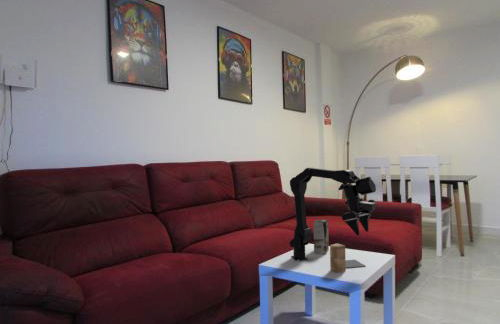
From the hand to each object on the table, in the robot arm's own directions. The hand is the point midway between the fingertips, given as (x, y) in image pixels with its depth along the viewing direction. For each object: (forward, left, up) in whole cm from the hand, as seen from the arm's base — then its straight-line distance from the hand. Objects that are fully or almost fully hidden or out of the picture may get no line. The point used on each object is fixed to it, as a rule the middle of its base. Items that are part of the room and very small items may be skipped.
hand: (362, 233), depth 153 cm
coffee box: (-34, -5, -16) cm, 38 cm away
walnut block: (-3, -10, -16) cm, 19 cm away
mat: (-10, -1, -16) cm, 19 cm away
